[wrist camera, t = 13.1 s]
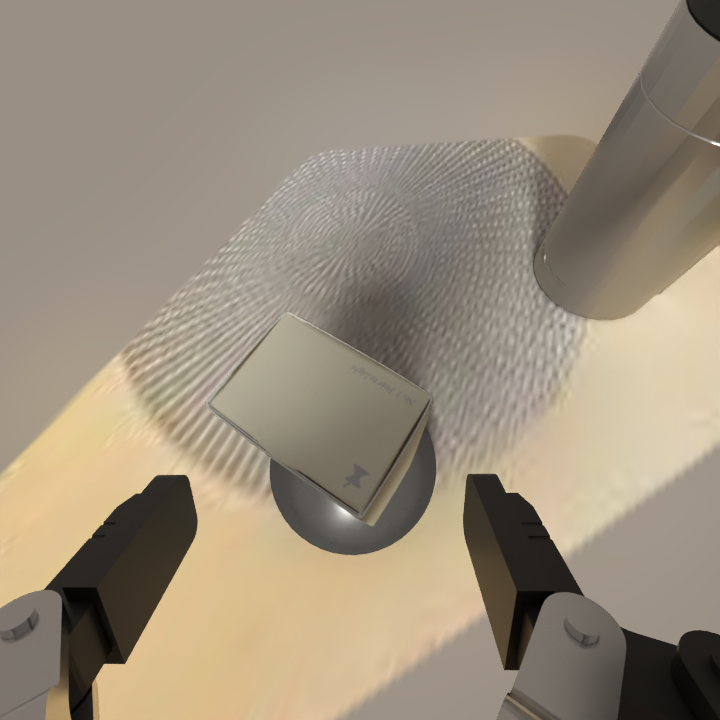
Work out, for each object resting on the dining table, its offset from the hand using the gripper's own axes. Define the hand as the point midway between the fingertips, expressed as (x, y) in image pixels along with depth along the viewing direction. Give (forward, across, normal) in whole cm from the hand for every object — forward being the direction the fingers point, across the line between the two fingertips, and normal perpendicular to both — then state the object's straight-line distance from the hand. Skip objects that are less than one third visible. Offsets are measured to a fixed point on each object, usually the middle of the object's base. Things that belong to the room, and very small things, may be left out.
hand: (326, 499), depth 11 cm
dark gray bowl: (+12, 0, +8) cm, 15 cm away
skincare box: (+10, 0, +6) cm, 12 cm away
